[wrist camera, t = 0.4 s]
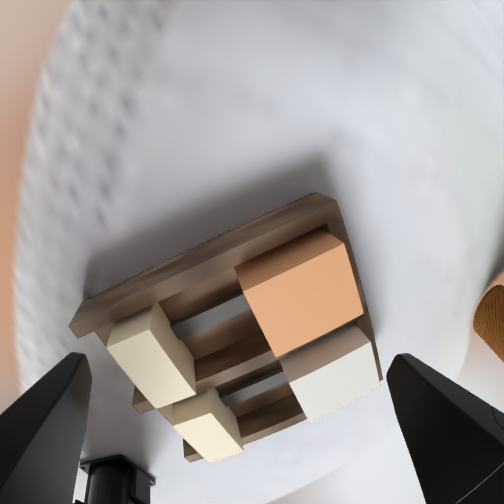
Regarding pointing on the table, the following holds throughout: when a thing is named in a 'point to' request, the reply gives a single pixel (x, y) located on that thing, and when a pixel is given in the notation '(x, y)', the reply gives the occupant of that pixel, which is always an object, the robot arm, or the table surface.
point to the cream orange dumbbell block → (252, 297)
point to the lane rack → (235, 328)
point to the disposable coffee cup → (491, 320)
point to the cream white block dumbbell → (293, 370)
